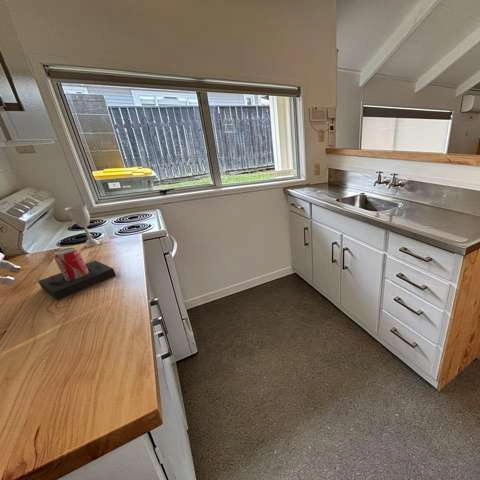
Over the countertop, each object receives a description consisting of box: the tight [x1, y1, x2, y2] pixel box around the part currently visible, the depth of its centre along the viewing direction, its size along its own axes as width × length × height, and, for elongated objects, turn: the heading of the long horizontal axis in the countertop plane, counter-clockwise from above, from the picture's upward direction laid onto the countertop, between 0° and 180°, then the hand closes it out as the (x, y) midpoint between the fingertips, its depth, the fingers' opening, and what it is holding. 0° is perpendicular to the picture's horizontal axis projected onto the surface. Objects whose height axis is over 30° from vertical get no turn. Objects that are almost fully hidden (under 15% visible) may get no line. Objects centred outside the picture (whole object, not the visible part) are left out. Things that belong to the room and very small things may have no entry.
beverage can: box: [54, 247, 89, 281], centre depth 86 cm, size 6×6×12 cm
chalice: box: [65, 204, 100, 248], centre depth 116 cm, size 7×7×18 cm
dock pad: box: [37, 260, 117, 301], centre depth 88 cm, size 16×14×3 cm
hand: (16, 275), depth 78 cm, fingers open, 8 cm apart
